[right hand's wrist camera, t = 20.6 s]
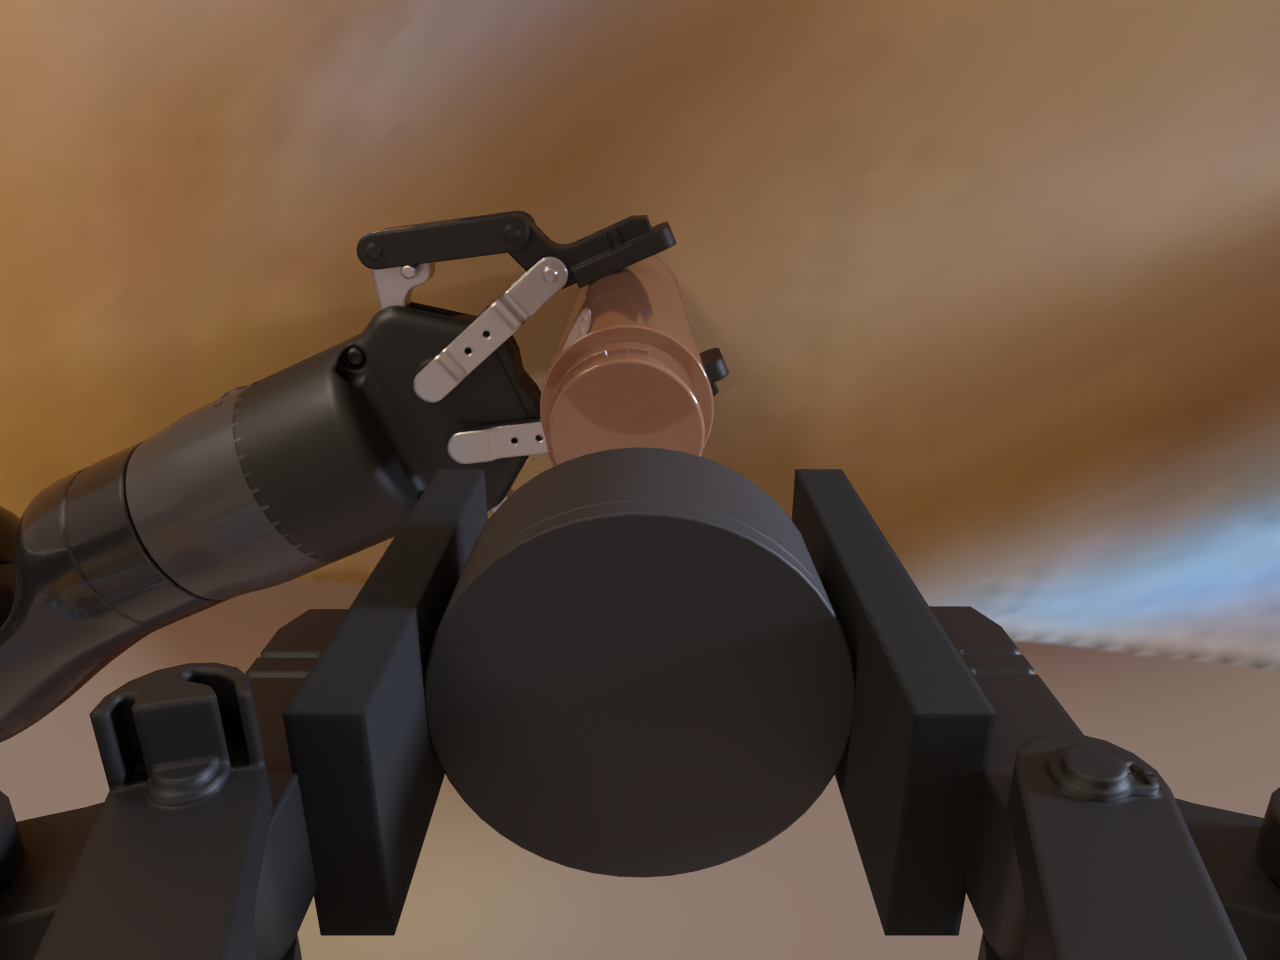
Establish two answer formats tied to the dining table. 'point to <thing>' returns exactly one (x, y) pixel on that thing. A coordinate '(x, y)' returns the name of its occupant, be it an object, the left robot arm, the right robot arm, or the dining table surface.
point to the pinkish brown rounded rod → (627, 370)
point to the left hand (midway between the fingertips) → (695, 298)
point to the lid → (639, 667)
